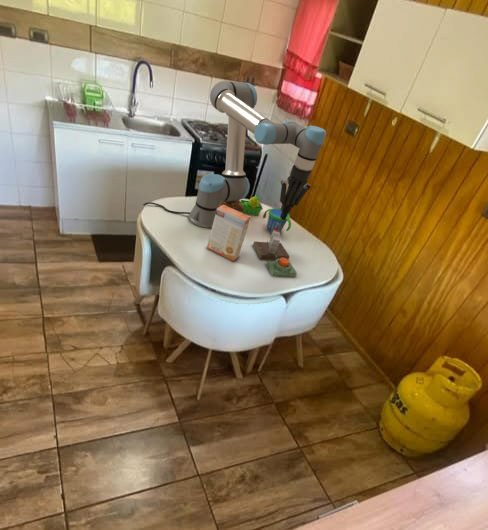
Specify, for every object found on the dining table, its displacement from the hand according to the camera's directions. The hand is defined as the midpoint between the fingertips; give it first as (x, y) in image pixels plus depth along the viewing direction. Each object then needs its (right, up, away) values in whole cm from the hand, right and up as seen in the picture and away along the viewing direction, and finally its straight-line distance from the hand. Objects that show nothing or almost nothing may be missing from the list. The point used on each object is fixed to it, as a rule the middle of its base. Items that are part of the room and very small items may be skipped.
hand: (282, 218), depth 164 cm
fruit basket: (-7, +8, +45) cm, 46 cm away
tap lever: (-2, -13, +13) cm, 18 cm away
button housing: (0, -23, +4) cm, 23 cm away
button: (+1, -20, +1) cm, 20 cm away
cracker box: (-25, -15, +7) cm, 30 cm away
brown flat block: (-2, -15, +14) cm, 21 cm away
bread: (-21, +9, +42) cm, 48 cm away
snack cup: (+4, -2, +33) cm, 34 cm away
